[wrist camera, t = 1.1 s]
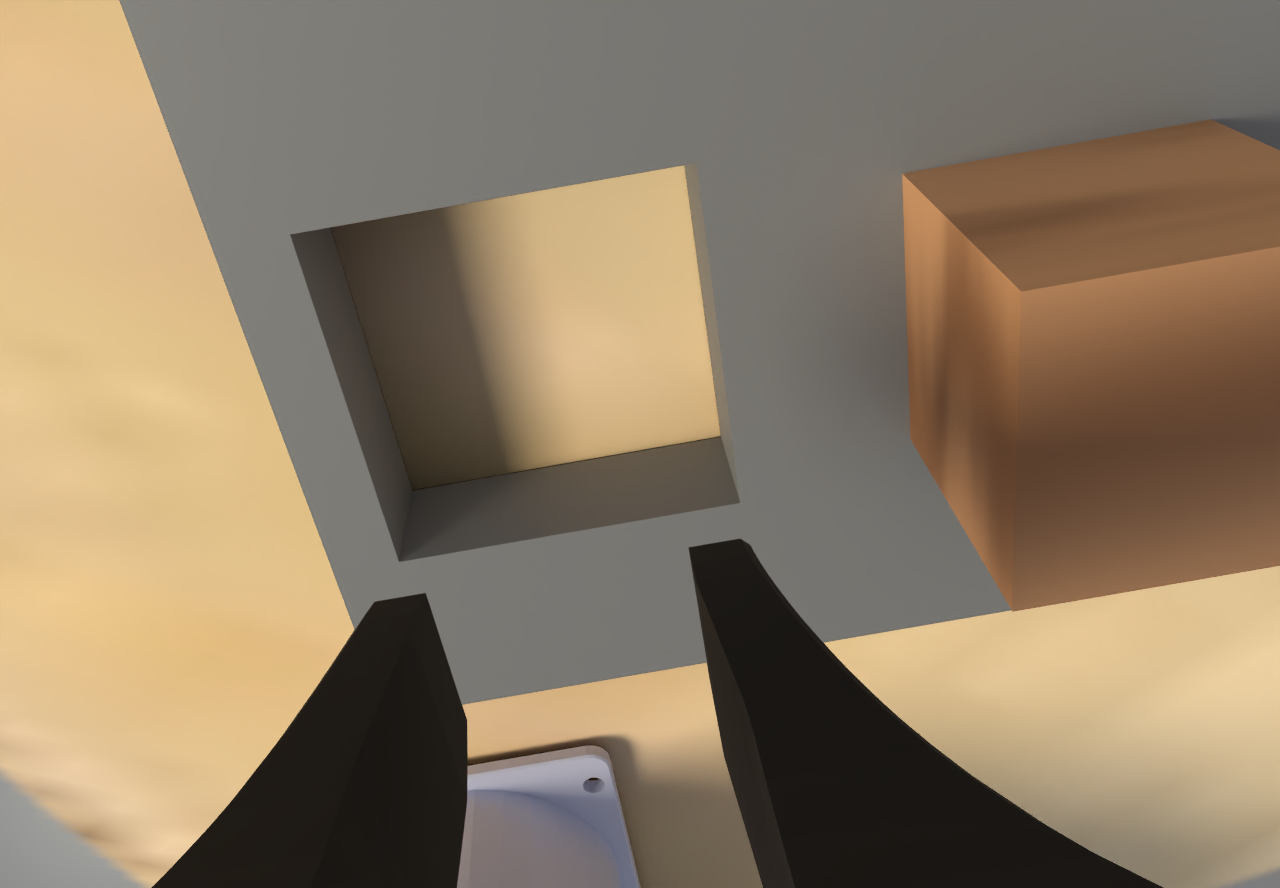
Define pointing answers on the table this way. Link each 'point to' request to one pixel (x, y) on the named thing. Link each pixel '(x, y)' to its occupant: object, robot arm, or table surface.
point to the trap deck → (727, 261)
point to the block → (1101, 358)
